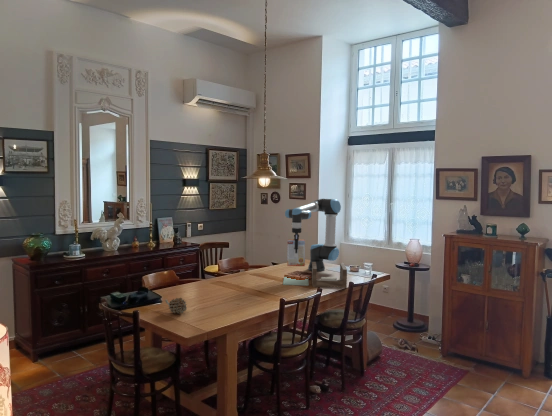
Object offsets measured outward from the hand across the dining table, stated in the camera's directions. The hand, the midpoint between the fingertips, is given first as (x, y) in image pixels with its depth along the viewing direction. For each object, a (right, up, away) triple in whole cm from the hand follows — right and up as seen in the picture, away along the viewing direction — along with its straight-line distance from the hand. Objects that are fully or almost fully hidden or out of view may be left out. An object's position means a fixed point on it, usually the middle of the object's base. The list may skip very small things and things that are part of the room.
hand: (296, 256), depth 345 cm
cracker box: (0, -8, +1) cm, 8 cm away
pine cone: (-79, -26, -78) cm, 115 cm away
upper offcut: (+25, -19, -5) cm, 32 cm away
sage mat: (0, -20, +2) cm, 20 cm away
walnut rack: (+26, -21, -2) cm, 33 cm away
